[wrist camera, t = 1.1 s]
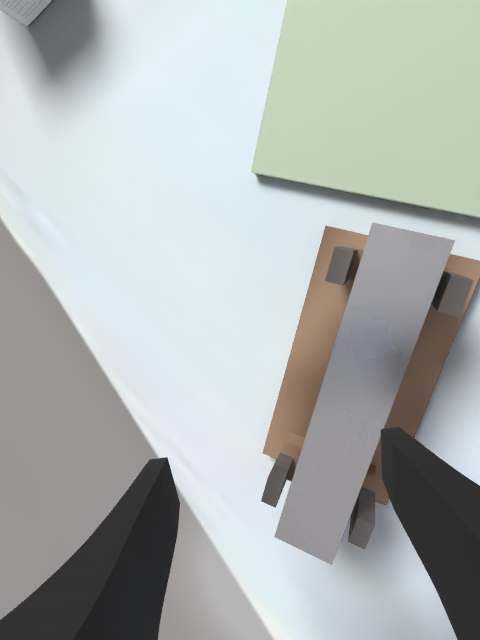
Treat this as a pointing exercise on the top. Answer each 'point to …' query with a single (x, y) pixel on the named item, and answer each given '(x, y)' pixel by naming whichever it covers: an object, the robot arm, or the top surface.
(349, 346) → the rail
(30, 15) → the product box
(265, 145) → the mat
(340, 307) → the stand
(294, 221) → the top surface
